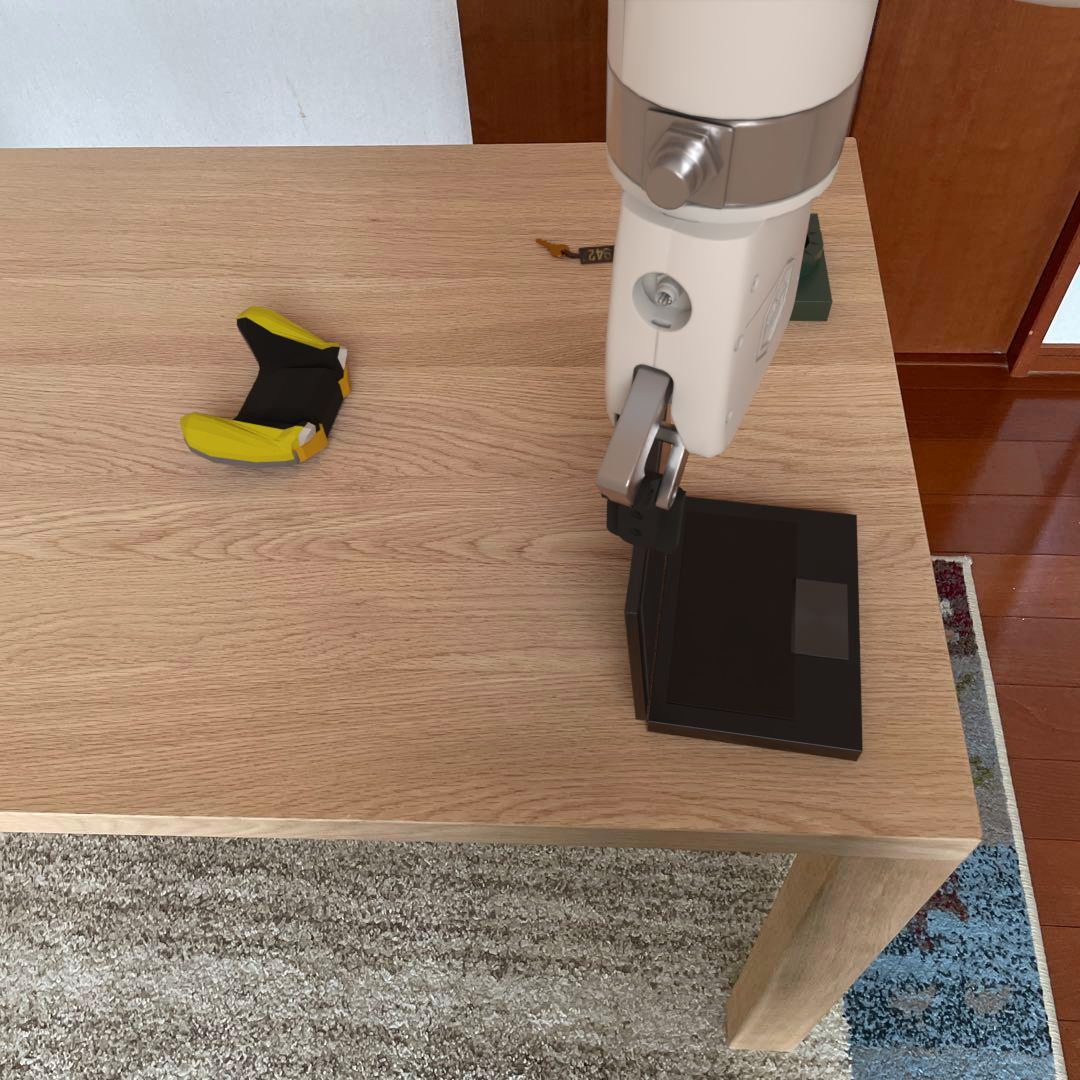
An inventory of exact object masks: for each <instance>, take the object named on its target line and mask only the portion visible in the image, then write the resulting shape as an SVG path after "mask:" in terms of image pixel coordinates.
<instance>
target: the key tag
mask: <svg viewBox="0 0 1080 1080" xmlns="http://www.w3.org/2000/svg"><path fill="white" fill-rule="evenodd" d="M535 242H536V243H537V244H539V245H541V246H543V247H545V248H547V251H550V252H549V253H550V255H551V256H552V257H554V258H563V257H566V258H568V259H572V260H573V259H579V260H580V265H589V264H601V263H613V257H614V247H615V244H611V245H610V244H609V245H600V246H599V245H597V246H586V247H579V248H578V253H576V252H571V250H570V247H569V246H568V245H567V244H564V243H559V244H556V243H555V242H554V243H552V244H551V242H550V241H549V242H548V241H547V240H546V239H545V240H544V239H542V238H535Z"/></svg>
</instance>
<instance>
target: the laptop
mask: <svg viewBox="0 0 1080 1080" xmlns="http://www.w3.org/2000/svg"><path fill="white" fill-rule="evenodd" d="M858 545H859V544H858V515H857V514H854V513H845V512H835V511H827V510H826V511H825V510H817V509H809V508H808V509H807V508H800V507H790V506H789V507H788V506H779V505H771V504H761V503H752V502H742V501H736V500H735V501H733V500H725V499H716V498H707V497H696V496H689V495H686V496H685V504H684V511H683V518H682V526H681V533H680V541H679V544H678V546H677V548H676V550H675V552H674V553H673V554H667V553H666V559H665V567H664V576H663V585H662V594H661V602H660V611H659V620H658V628H657V637H656V646H655V655H654V663H653V672H652V681H651V689H650V698H649V707H648V715H647V726H646V732H649V733H656V734H662V735H668V736H669V735H670V736H677V737H684V738H691V739H697V740H703V741H704V740H705V741H711V742H719V743H726V744H733V745H738V746H739V745H740V746H746V747H754V748H761V749H767V750H775V751H780V752H781V751H782V752H787V753H794V754H795V753H796V754H803V755H809V756H810V755H811V756H815V757H824V758H829V759H837V760H845V761H851V762H857V761H858V760H859V758H860V757H861V755H862V753H863V752H864V749H863V748H864V746H863V705H862V704H863V701H862V665H861V664H862V663H861V629H860V628H861V626H860V624H861V623H860V588H859V587H860V586H859V550H858V549H859V546H858Z"/></svg>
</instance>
